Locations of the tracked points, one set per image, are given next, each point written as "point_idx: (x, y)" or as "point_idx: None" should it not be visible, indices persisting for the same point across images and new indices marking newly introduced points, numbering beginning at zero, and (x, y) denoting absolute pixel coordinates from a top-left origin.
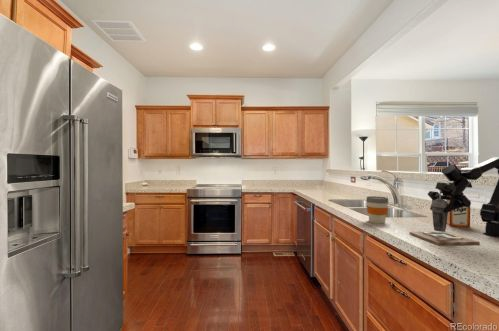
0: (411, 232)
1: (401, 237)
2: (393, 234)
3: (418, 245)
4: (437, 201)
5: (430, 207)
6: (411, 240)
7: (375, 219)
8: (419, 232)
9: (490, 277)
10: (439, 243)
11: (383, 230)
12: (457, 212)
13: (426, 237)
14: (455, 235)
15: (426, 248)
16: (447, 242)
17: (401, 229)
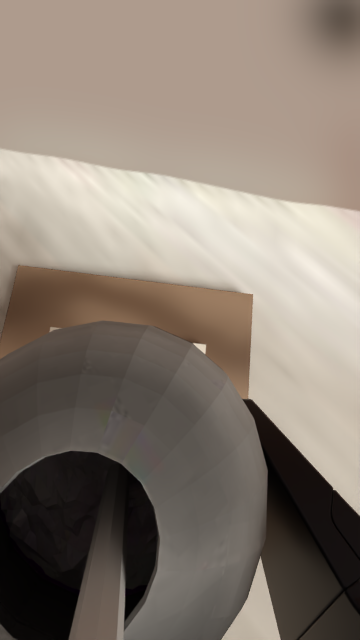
0: (236, 292)
1: (193, 203)
2: (253, 206)
3: (53, 176)
4: (45, 358)
5: (262, 412)
6: (134, 210)
7: None
8: (229, 344)
9: None
10: (19, 276)
11: (337, 214)
12: None
13: (121, 290)
14: None
15: (3, 173)
16: (5, 323)
17: (357, 338)
